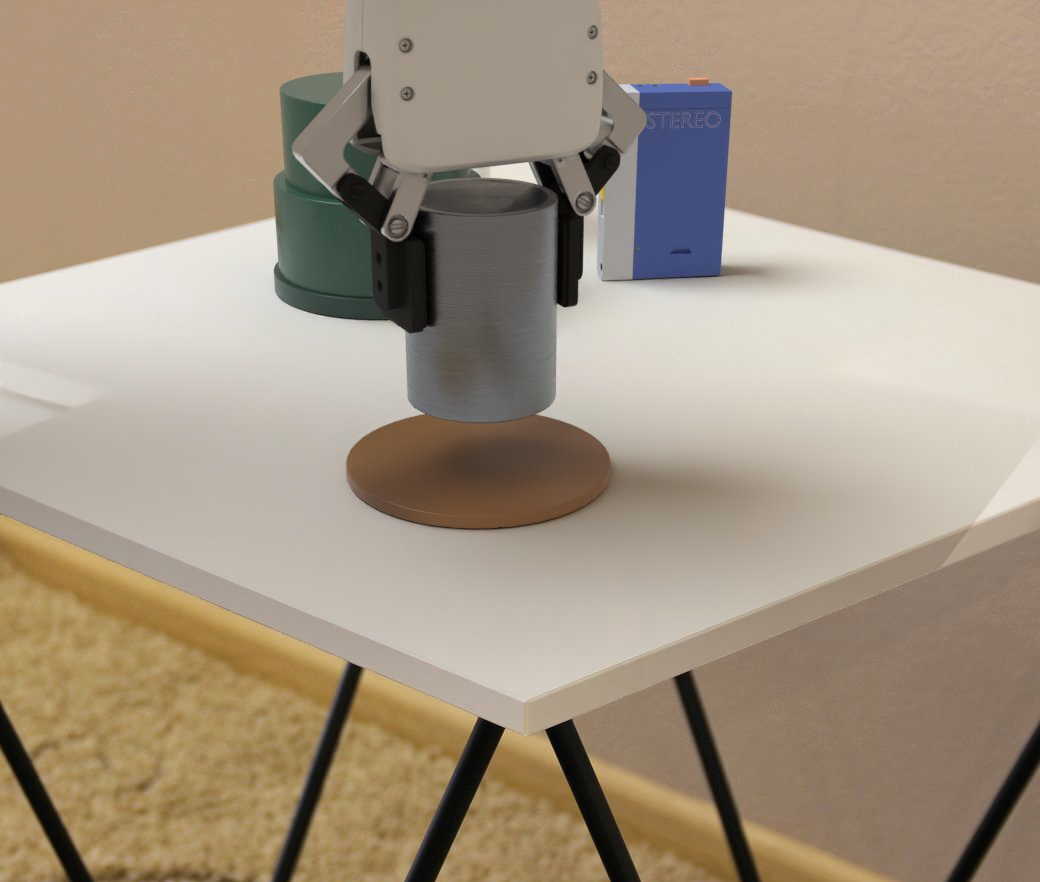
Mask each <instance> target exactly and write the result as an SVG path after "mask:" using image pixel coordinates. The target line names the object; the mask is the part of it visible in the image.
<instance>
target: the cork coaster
mask: <svg viewBox="0 0 1040 882" xmlns="http://www.w3.org/2000/svg"><path fill="white" fill-rule="evenodd" d="M611 471H612V460H611V457H610V453H609V452H608V450H607V448H606V446H605V445H604V444H603V443H602V442H601V441H600V440H599V439H597V438H596V437H595V436H594V435H593V434H591V433H589V432H588V431H586V430H585V429H583V428H580V427H578V426H575V425H574V424H571V423H568V422H566V421H563V420H561V419H556V418H553V417H549V416H546V415H541V414H535V415H533V416H530V417H526V418H523V419H518V420H513V421H507V422H498V423H464V422H455V421H448V420H444V419H439V418H436V417H432V416H430V415H427V414H425V413H423V414H419V415H413V416H409V417H406V418H403V419H399V420H395V421H393V422H390V423H387V424H385V425H382V426H380V427H378V428H376V429H374V430H372V431H369V433H367V434H365V435H364V436H362V437H361V438H360V439H359V440H358V441H357V442H355V443H354V445H353V446H352V447H351V449H350V450H349V452H348V455H347V457H346V461H345V475H346V481H347V483H348V485H349V488H350V489H351V491H353V493H354V494H355V495H356V496H357V497H358V498H359V499H360V500H362V501H363V502H364V503H365V504H367V505H369V506H370V507H372V508H374V509H375V510H377V511H381V512H383V513H385V514H387V515H390V516H393V517H396V518H399V519H402V520H406V521H409V522H410V521H411V522H413V523H418V524H423V525H428V526H435V527H443V528H453V529H499V528H498V527H502V528H511V527H519V526H525V525H526V526H528V525H531V524H532V525H533V524H537V523H541V522H546V521H550V520H554V519H556V518H560V517H563V516H566V515H568V514H571V513H574V512H576V511H577V510H579V509H581V508H584V507H586V506H587V505H589V504H590V503H591V502H593V501H594V500H596V499H597V498H598V497H599V496H600V495H601V494H602V493H603V492H604V490H605V489H606V488H607V487H608V484H609V482H610V480H611Z"/></svg>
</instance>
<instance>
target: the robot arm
mask: <svg viewBox="0 0 1040 882" xmlns="http://www.w3.org/2000/svg"><path fill="white" fill-rule="evenodd" d="M344 9H345V10H344V24H343V25H344V26H343V28H344V29H343V32H344V33H343V53H342V54H343V55H342V56H343V60H342V72H343V87H342V88H341V89H340V90H339V91H338V92H337V93H336V94H335V96H334V97H333V98H332V99H331V100H330V101H329V102H328V103H327V105H326V106H325V107H324V108H323V109H322V110H321V111H320V112H319V113H318V115H317V116H316V117H315V118H314V119H313V120H312V121H311V122H310V124H309V125H308V126H307V127H306V128H305V129H304V130H303V131H302V133H301V134H300V135H299V136H298V137H297V138H296V139H295V141H294V142H293V145H292V152H293V155H294V156H295V158H296V159H297V160H298V161H299V162H300V163H301V164H302V165H303V166H304V167H305V168H306V169H307V170H308V171H309V172H310V173H311V174H312V175H313V176H314V177H315V178H316V179H317V180H318V181H319V182H321V183H322V184H323V185H324V186H325V187H326V188H327V189H328V191H329V192H330V193H331V194H332V195H333V196H334V197H335V198H336V199H337V200H339V201H340V202H341V203H342V204H343V205H344V206H345V207H346V208H348V209H349V210H350V211H351V212H352V213H353V214H354V215H355V216H357V217H358V218H359V220H360V221H361V222H362V223H363V224H365V225H366V226H368V227H369V228H370V237H371V260H372V284H373V296H374V300H375V303H376V305H377V306H378V307H379V308H380V309H381V310H382V312H383V314H384V316H385V317H386V318H388V319H387V320H389V321H390V322H392V323H393V324H395V325H396V326H397V327H399V328H401V329H402V330H404V332H405V331H407V332H408V333H410V334H411V333H417V332H422V331H423V329H424V328H426V326H427V308H426V270H425V246H424V243H423V241H422V240H420V239H418V238H417V237H415V236H413V224H414V222H415V219H416V217H417V214H418V212H419V209H420V206H421V204H422V201H423V199H424V196H425V194H426V191H427V189H428V186H429V183H430V181H431V178H432V176H433V173H435V172H445V171H455V170H464V169H473V168H482V167H491V166H492V167H499V166H506V165H515V164H523V163H528V165H529V167H530V170H531V171H532V174H533V176H534V179H535V181H536V184H537V185H541V186H544V187H546V188H548V189H550V190H552V191H554V192H555V193H556V194H557V196H558V258H557V305H559V306H560V307H562V308H570V307H576V306H577V305H578V303H579V281H580V280H581V279H582V277H583V274H584V240H585V239H584V236H585V234H584V231H585V217H587V216H589V215H591V214H592V213H593V212H594V210H595V209H596V206H597V202H598V201H597V199H598V198H597V196H598V195H599V192H600V191H601V189H602V188H603V187H604V186H605V184H606V183H607V182H608V181H609V179H610V178H611V177H612V176H613V174H614V173H615V172H616V171H617V169H618V167H619V165H620V158H621V156H622V155H623V154H626V152H627V151H628V150H629V148H630V147H631V146H632V144H633V143H634V141H635V140H636V139H637V137H638V136H639V135H640V133H641V132H642V130H643V129H644V128H645V126H646V124H647V115H646V113H645V111H644V110H643V109H642V108H641V107H640V106H639V105H638V104H637V103H636V102H635V101H634V100H633V99H632V98H631V97H630V96H629V95H628V94H627V93H626V92H625V91H624V90H623V89H622V88H621V87H620V86H619V85H618V84H619V83H617V82H616V80H614V78H612V77H611V76H610V74H608V72H607V71H606V70H605V69H604V54H603V53H604V52H603V51H604V50H603V33H602V32H603V31H602V29H603V28H602V13H601V1H600V0H345V7H344ZM349 142H350V144H351V145H352V146H354V147H355V148H357V149H358V150H361V151H363V152H366V153H371V154H379V155H378V157H377V160H376V163H375V165H374V168H373V171H372V173H371V176H370V178H369V181H367V180H366V179H364V178H363V177H361V176H360V175H359V174H358V173H357V172H356V171H355V170H354V169H353V168H352V167H351V165H350V164H349V163H348V162H347V160H346V159H345V156H344V150H345V147H346V145H347V144H348V143H349Z"/></svg>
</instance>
